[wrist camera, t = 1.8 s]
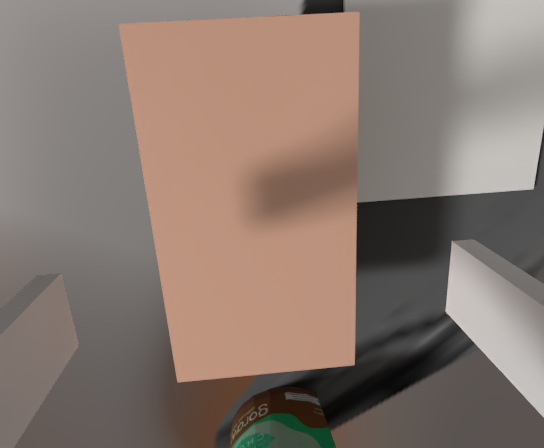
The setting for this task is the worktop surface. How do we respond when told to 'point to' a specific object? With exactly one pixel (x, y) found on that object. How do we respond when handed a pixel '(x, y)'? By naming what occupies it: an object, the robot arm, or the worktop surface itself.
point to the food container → (281, 421)
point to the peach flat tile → (251, 186)
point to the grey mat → (448, 96)
